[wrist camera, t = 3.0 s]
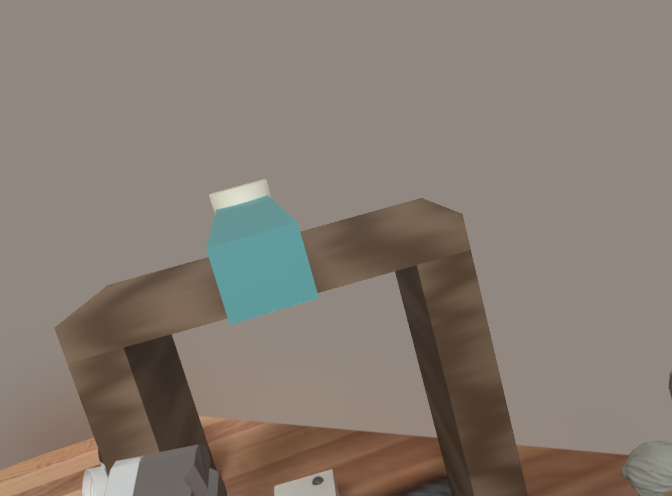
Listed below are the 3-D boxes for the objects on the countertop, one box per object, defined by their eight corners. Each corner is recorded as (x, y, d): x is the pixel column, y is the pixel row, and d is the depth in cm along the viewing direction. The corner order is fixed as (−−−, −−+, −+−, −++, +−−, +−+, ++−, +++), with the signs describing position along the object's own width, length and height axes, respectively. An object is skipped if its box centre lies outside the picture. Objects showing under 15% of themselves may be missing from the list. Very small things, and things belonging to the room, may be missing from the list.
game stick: (279, 231, 45) (264, 178, 45) (325, 295, 24) (296, 194, 23) (226, 247, 45) (209, 193, 44) (223, 326, 24) (191, 224, 23)
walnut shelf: (500, 526, 48) (420, 197, 43) (558, 628, 38) (462, 213, 33) (220, 609, 47) (109, 284, 42) (203, 737, 37) (54, 327, 32)
